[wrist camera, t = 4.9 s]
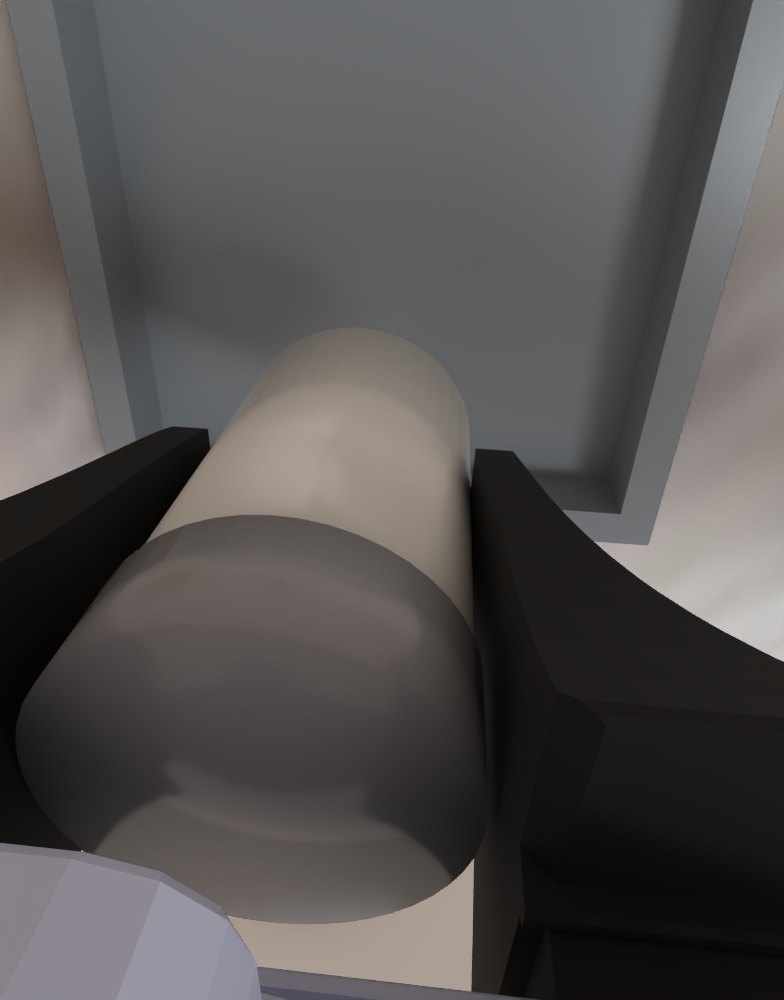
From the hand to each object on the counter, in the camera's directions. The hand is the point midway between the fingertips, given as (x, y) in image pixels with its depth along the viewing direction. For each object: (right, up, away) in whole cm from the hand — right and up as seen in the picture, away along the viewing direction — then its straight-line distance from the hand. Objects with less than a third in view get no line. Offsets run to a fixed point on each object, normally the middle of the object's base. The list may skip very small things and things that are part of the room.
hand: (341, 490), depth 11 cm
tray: (+1, +7, +7) cm, 10 cm away
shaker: (0, +1, +2) cm, 2 cm away
